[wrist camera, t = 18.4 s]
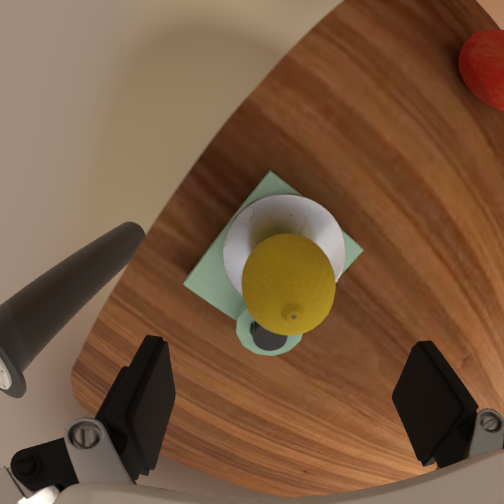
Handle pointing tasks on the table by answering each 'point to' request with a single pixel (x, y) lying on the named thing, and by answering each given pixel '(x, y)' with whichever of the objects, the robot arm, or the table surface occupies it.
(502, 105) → the apple
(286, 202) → the scale weighing pan
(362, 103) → the table surface
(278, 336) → the tare button
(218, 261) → the scale
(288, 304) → the lemon
